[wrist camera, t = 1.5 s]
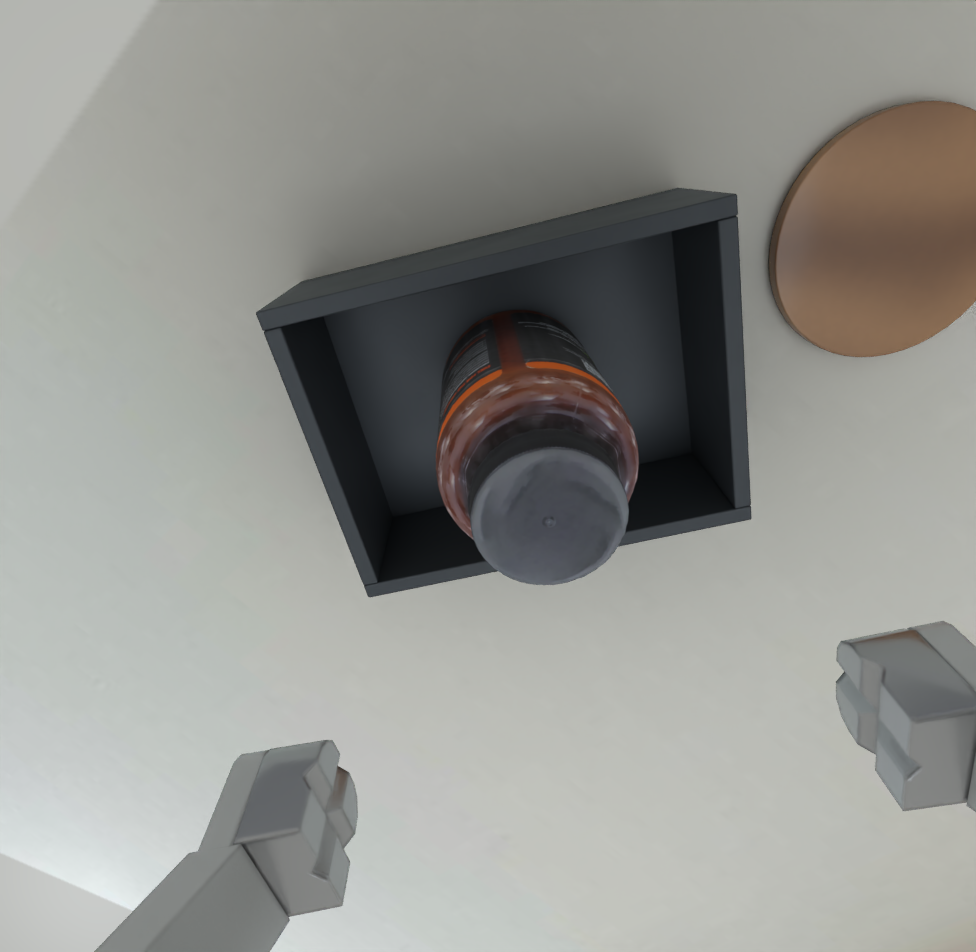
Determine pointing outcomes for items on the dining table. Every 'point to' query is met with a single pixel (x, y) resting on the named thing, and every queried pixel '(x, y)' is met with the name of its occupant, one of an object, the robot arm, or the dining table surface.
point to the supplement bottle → (533, 449)
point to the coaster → (881, 232)
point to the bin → (551, 291)
